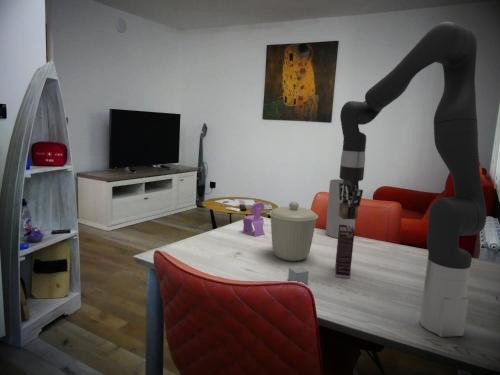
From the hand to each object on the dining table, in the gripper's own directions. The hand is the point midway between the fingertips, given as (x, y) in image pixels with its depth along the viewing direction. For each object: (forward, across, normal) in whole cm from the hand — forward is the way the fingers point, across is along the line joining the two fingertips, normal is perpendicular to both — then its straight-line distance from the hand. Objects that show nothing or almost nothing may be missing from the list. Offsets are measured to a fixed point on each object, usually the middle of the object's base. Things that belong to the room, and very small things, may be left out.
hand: (347, 216), depth 119 cm
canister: (+20, +16, +14) cm, 29 cm away
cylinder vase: (+20, +43, -16) cm, 50 cm away
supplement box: (+20, 0, 0) cm, 20 cm away
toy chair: (+20, +45, +24) cm, 55 cm away
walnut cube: (0, 0, 0) cm, 0 cm away
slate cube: (+20, -7, +18) cm, 27 cm away
